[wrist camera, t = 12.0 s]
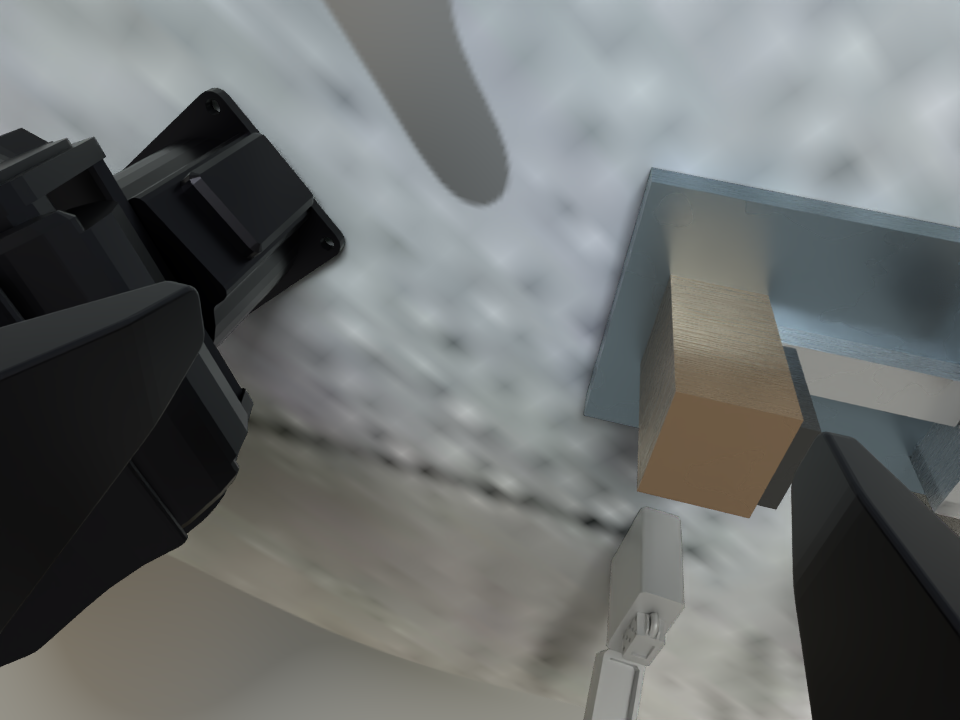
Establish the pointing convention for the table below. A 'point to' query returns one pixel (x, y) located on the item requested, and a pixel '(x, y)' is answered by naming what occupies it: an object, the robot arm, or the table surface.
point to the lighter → (637, 613)
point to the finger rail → (805, 285)
